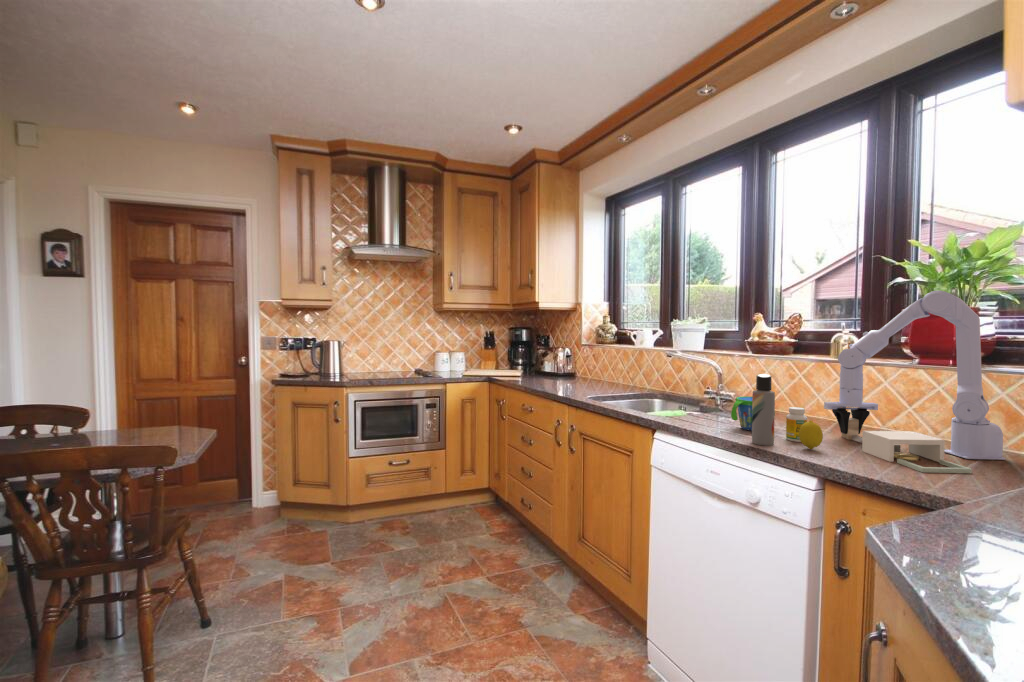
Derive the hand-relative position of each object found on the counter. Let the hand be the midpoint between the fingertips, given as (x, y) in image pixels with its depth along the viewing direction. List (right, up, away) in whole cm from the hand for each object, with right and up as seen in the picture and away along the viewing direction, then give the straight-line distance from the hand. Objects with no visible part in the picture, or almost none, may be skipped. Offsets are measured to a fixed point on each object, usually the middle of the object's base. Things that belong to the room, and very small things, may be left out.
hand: (850, 433), depth 143 cm
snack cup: (-23, -1, +13) cm, 26 cm away
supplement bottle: (-18, -2, -2) cm, 18 cm away
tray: (-2, -2, -30) cm, 30 cm away
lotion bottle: (-30, -2, -7) cm, 31 cm away
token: (-1, -3, -22) cm, 22 cm away
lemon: (-20, -2, -13) cm, 24 cm away
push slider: (0, -2, -7) cm, 7 cm away
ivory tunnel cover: (-1, -2, -20) cm, 20 cm away
